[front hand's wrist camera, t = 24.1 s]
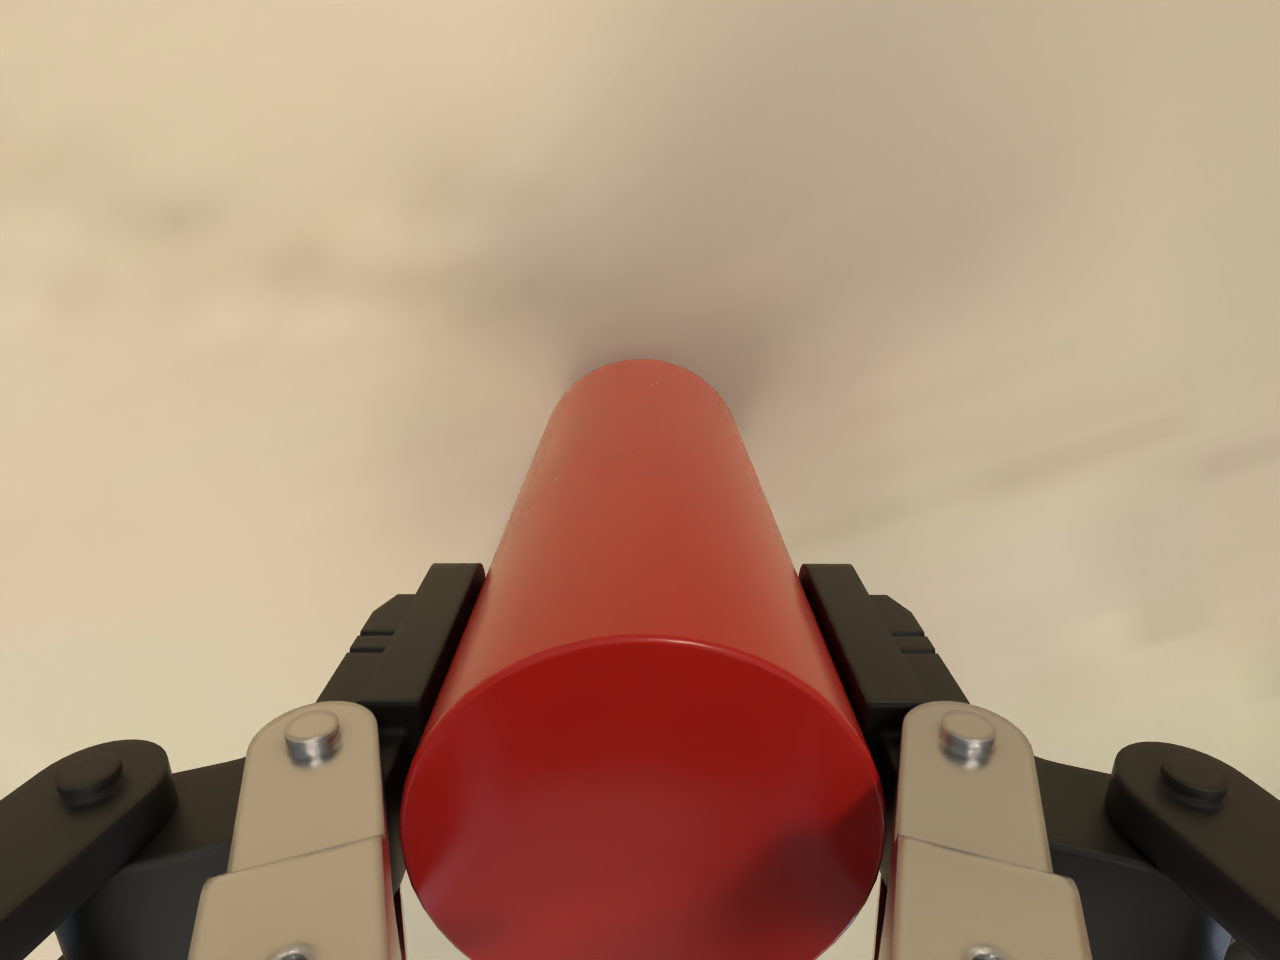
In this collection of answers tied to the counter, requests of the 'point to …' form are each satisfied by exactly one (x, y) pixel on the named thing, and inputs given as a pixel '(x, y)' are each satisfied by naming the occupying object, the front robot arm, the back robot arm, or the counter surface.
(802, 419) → the counter surface
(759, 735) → the canister
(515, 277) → the counter surface
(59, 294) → the counter surface
